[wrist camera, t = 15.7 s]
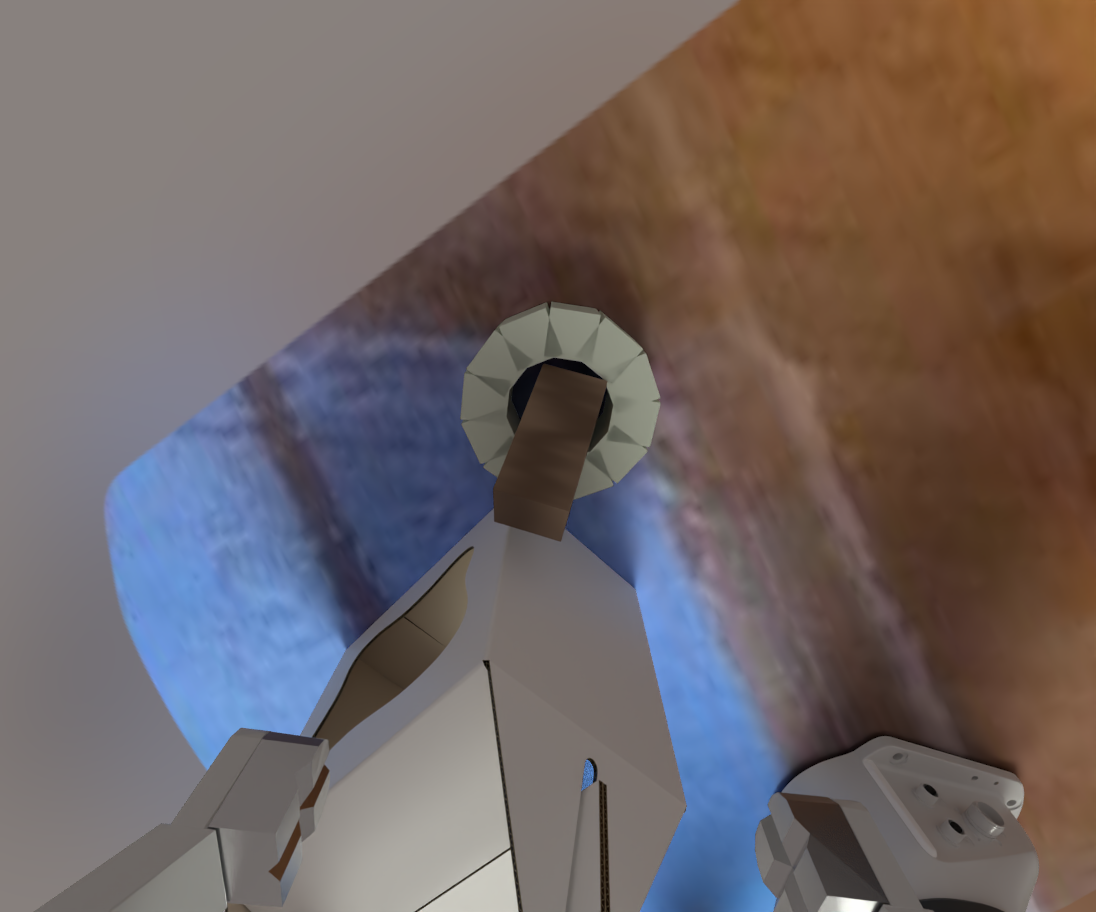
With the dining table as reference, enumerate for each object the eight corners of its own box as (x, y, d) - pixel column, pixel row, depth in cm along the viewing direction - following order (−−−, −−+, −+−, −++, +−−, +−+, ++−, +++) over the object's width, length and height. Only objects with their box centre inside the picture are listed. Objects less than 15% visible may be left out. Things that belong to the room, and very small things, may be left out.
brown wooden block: (607, 381, 30) (568, 511, 25) (596, 420, 33) (560, 541, 29) (543, 363, 30) (493, 488, 26) (539, 404, 34) (494, 521, 29)
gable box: (460, 730, 47) (339, 1327, 21) (343, 651, 43) (25, 1240, 17) (639, 587, 41) (786, 1179, 15) (518, 483, 37) (430, 1002, 11)
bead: (664, 319, 33) (678, 327, 29) (627, 485, 37) (634, 510, 33) (481, 290, 32) (471, 294, 29) (464, 461, 37) (454, 485, 33)
